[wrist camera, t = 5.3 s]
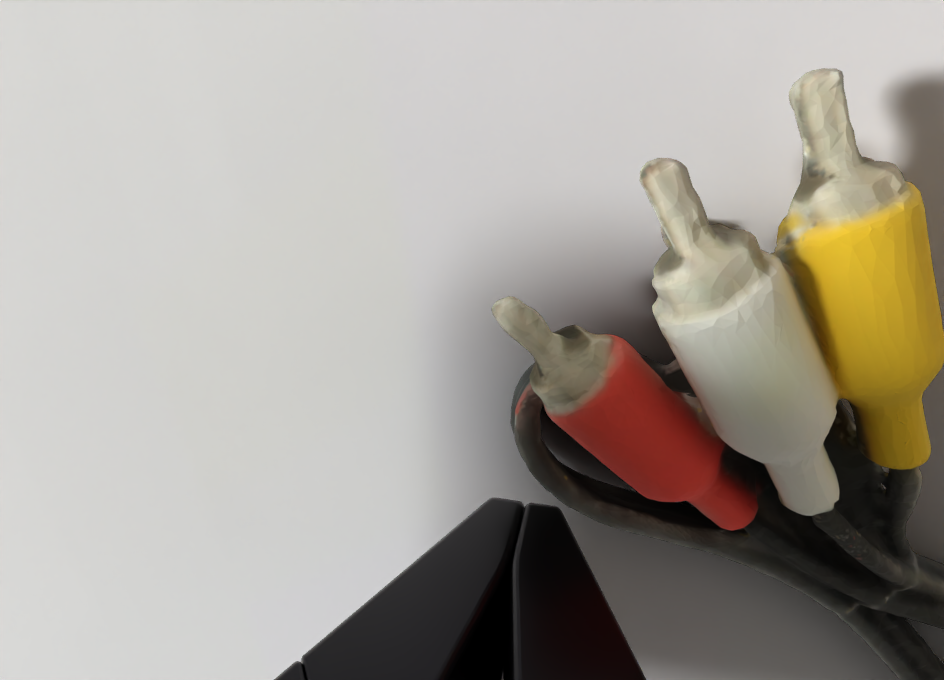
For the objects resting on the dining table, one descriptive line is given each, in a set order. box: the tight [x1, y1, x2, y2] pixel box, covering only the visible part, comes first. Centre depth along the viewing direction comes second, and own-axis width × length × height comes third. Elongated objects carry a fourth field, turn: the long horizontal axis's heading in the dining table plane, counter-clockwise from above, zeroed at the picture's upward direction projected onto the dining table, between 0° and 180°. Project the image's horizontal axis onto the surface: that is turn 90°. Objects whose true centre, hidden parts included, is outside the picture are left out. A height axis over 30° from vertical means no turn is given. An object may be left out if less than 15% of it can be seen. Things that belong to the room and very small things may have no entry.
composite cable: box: [492, 68, 944, 680], centre depth 7 cm, size 10×5×2 cm, turn 39°
